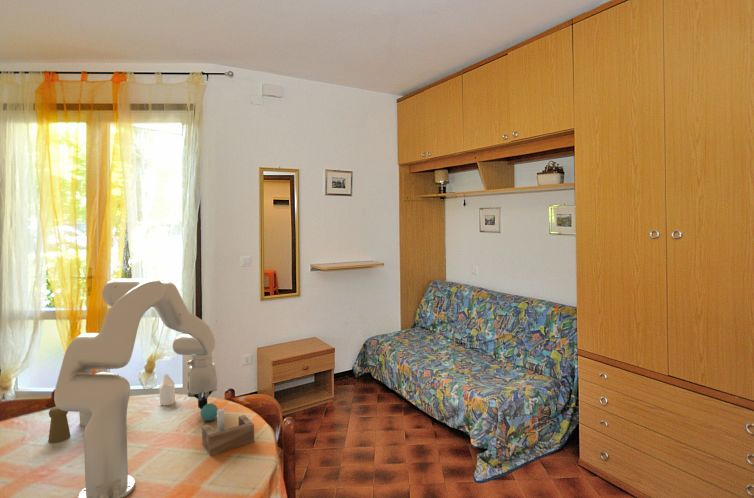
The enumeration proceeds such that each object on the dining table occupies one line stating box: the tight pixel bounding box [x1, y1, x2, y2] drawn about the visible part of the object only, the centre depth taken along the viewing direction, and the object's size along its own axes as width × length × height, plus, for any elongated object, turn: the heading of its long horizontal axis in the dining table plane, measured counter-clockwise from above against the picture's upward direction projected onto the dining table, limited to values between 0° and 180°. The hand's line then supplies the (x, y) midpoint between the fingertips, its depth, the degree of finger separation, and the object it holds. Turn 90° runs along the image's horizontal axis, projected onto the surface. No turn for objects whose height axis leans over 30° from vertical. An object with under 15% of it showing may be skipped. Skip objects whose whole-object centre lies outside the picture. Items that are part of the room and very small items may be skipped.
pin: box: [216, 408, 226, 432], centre depth 142 cm, size 2×2×8 cm
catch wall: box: [201, 414, 255, 457], centre depth 136 cm, size 9×14×6 cm, turn 128°
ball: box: [200, 403, 218, 422], centre depth 153 cm, size 6×6×6 cm
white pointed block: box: [158, 373, 176, 407], centre depth 168 cm, size 6×12×6 cm
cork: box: [47, 405, 71, 444], centre depth 139 cm, size 6×6×11 cm
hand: (202, 408), depth 160 cm, fingers closed
